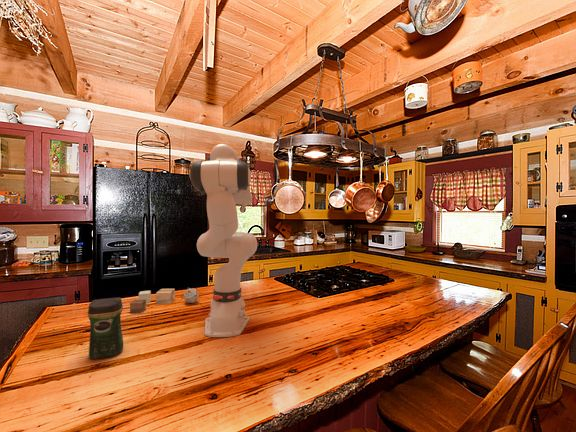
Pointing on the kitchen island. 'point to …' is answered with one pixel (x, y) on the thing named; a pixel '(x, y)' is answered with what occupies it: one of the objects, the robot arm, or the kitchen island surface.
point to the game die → (191, 295)
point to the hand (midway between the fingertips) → (233, 212)
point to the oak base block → (165, 296)
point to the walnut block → (137, 306)
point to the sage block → (145, 296)
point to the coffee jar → (105, 328)
